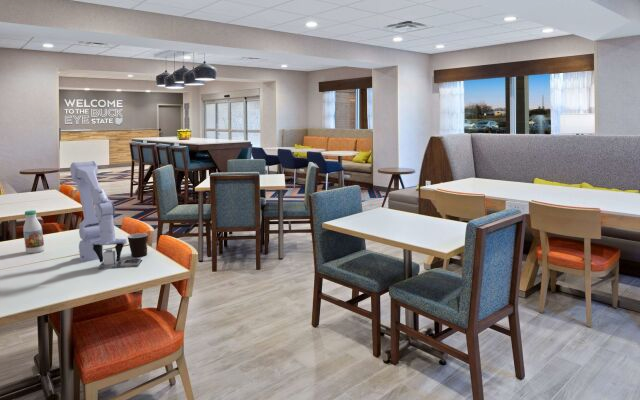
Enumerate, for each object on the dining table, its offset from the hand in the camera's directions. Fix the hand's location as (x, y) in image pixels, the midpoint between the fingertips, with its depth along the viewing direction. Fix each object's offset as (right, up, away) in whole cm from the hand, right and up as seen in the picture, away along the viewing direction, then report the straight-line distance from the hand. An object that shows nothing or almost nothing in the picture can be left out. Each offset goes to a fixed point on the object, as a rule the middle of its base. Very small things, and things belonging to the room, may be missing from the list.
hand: (110, 261), depth 198 cm
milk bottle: (-48, +1, +26) cm, 55 cm away
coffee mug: (+7, 0, +16) cm, 17 cm away
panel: (+4, -2, +1) cm, 5 cm away
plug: (0, -2, 0) cm, 2 cm away
